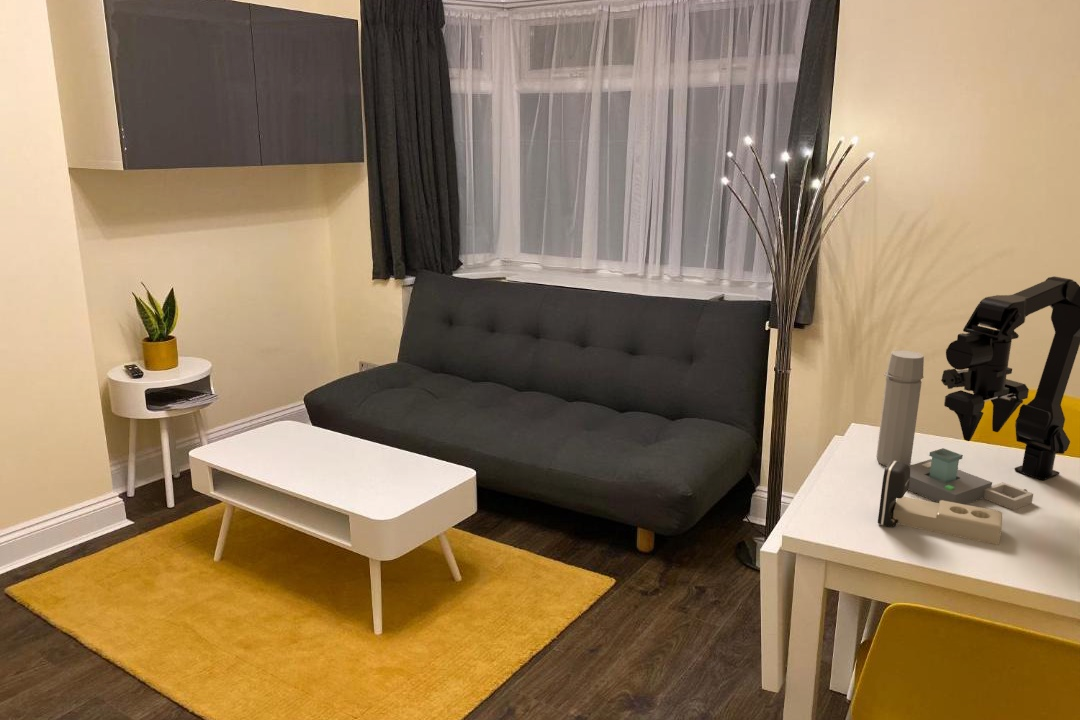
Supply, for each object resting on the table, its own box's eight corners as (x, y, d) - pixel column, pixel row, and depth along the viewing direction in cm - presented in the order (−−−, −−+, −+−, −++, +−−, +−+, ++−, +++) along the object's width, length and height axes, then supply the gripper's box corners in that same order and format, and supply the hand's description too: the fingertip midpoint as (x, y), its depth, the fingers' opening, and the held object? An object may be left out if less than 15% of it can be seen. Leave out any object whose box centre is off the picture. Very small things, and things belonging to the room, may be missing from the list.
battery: (897, 530, 160) (905, 473, 157) (876, 525, 162) (883, 469, 159) (905, 517, 166) (913, 461, 163) (885, 512, 168) (892, 457, 165)
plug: (938, 483, 181) (943, 448, 179) (957, 491, 177) (962, 455, 175) (924, 488, 179) (929, 452, 177) (943, 496, 175) (949, 459, 173)
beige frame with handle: (1009, 488, 179) (1011, 479, 179) (1040, 499, 174) (1042, 490, 173) (982, 497, 174) (984, 488, 174) (1013, 510, 169) (1014, 500, 169)
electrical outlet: (899, 491, 169) (1002, 510, 161) (896, 510, 170) (999, 530, 162) (894, 505, 163) (1002, 526, 154) (891, 524, 164) (998, 547, 156)
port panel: (928, 472, 187) (930, 457, 186) (989, 495, 175) (992, 480, 174) (892, 483, 181) (894, 468, 180) (953, 509, 169) (955, 493, 169)
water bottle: (917, 469, 188) (932, 359, 181) (881, 469, 188) (895, 358, 181) (900, 453, 197) (914, 347, 190) (866, 453, 197) (879, 347, 190)
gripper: (983, 345, 181) (973, 415, 186) (925, 359, 172) (916, 432, 177) (1035, 358, 172) (1023, 431, 176) (976, 373, 163) (965, 450, 168)
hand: (981, 436), depth 175 cm, fingers open, 9 cm apart
